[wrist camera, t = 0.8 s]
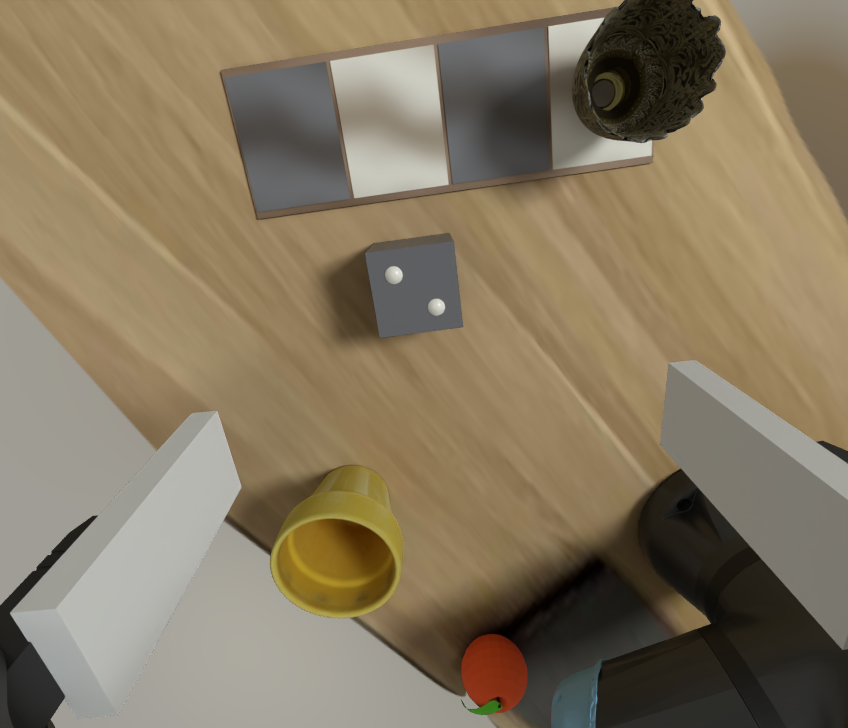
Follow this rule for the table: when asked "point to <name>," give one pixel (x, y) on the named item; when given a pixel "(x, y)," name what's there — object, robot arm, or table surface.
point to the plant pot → (340, 547)
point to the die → (414, 285)
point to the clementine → (494, 674)
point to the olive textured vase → (648, 69)
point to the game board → (420, 117)
